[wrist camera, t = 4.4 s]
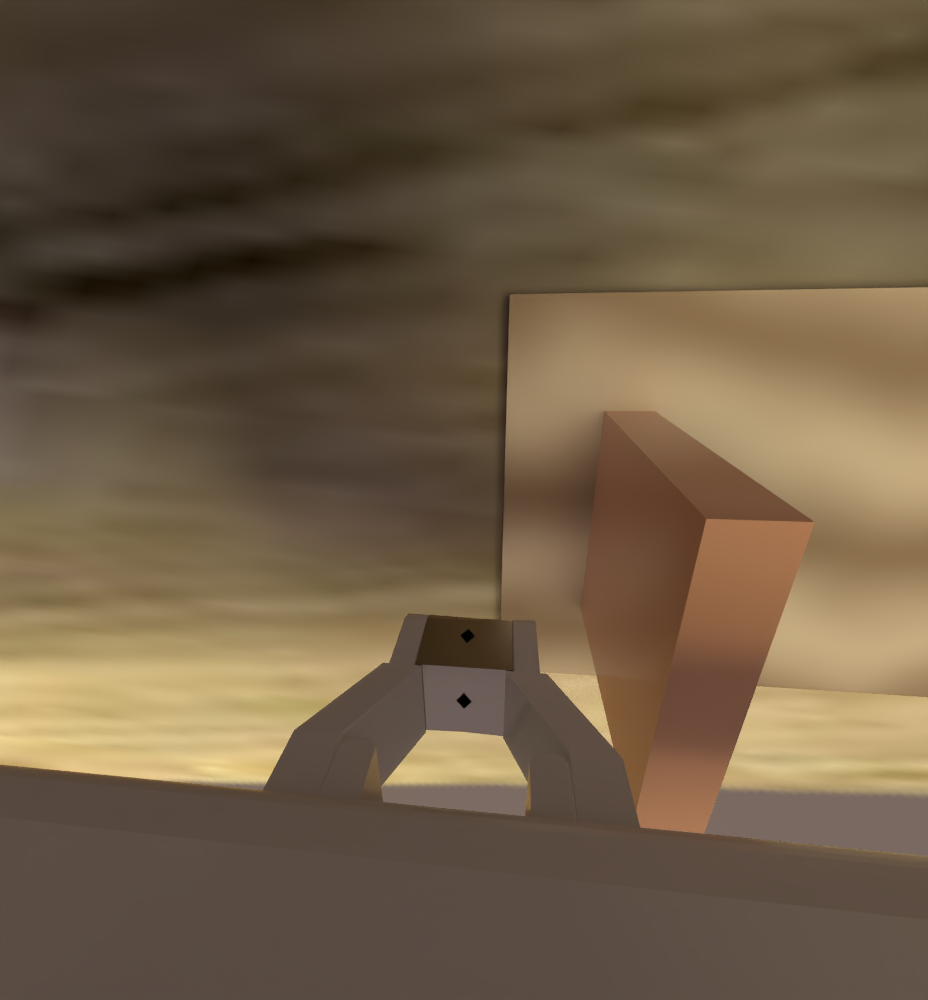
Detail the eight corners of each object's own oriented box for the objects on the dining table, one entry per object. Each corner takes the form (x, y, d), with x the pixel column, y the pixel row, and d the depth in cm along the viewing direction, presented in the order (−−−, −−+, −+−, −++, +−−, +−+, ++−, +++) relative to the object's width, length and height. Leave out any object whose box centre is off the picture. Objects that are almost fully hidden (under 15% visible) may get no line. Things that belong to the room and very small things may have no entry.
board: (509, 295, 14) (509, 294, 13) (1300, 282, 12) (1380, 279, 11) (499, 649, 20) (499, 669, 19) (1023, 681, 18) (1056, 705, 17)
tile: (604, 411, 14) (706, 518, 7) (659, 411, 14) (824, 522, 7) (580, 608, 17) (632, 826, 10) (625, 611, 17) (710, 833, 10)
